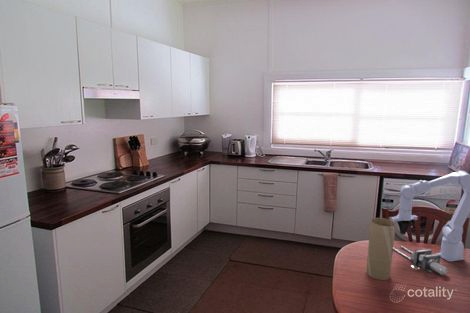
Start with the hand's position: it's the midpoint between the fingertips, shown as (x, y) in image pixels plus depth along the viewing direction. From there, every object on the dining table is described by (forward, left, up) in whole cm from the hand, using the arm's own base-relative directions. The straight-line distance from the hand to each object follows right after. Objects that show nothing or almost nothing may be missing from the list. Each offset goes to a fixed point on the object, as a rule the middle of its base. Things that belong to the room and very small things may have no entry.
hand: (402, 233), depth 166 cm
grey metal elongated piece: (0, +17, -9) cm, 19 cm away
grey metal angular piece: (+2, +10, -9) cm, 13 cm away
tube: (+27, +16, -10) cm, 33 cm away
